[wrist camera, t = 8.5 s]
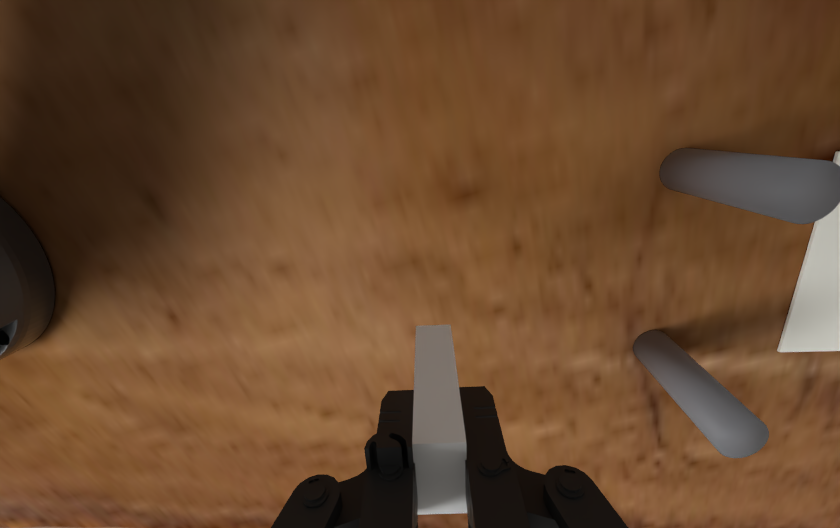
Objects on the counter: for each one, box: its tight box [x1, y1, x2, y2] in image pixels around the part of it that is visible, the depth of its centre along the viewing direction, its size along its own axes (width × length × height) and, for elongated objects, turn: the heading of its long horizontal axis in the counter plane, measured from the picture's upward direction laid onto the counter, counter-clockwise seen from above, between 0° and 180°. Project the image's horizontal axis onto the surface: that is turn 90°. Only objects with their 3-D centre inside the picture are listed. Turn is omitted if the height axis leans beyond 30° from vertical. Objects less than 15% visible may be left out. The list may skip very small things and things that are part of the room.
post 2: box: [633, 330, 769, 458], centre depth 24 cm, size 3×3×9 cm
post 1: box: [660, 148, 840, 224], centre depth 20 cm, size 3×3×9 cm
